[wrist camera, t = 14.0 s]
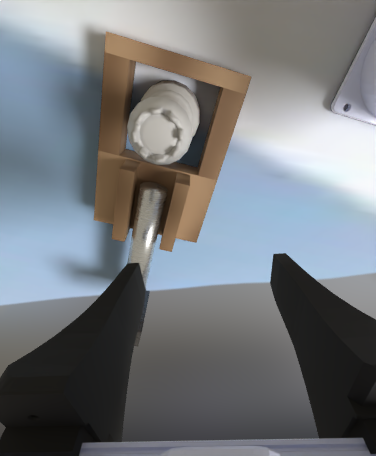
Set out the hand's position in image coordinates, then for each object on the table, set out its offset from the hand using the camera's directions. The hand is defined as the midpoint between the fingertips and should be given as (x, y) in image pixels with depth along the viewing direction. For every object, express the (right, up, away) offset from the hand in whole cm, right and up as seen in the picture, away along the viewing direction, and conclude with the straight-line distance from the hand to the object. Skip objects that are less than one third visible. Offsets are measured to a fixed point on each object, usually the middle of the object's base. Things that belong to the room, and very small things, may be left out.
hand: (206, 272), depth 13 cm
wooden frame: (-3, +8, +6) cm, 11 cm away
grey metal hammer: (-5, 0, +9) cm, 10 cm away
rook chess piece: (-2, +11, +5) cm, 12 cm away
